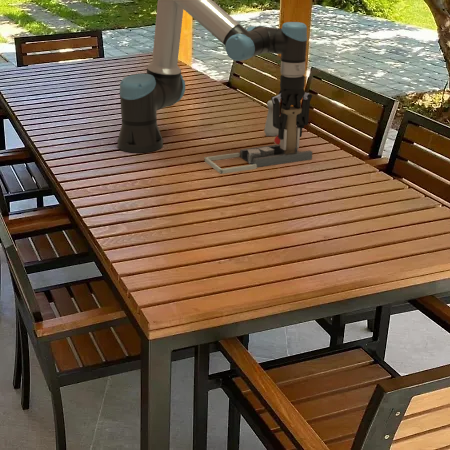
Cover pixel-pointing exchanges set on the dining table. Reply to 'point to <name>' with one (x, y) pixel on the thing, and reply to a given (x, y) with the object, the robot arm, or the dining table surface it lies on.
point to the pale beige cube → (266, 152)
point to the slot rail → (277, 156)
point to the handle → (291, 128)
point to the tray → (227, 170)
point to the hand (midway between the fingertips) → (289, 147)
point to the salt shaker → (270, 121)
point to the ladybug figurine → (277, 140)
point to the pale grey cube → (252, 155)
